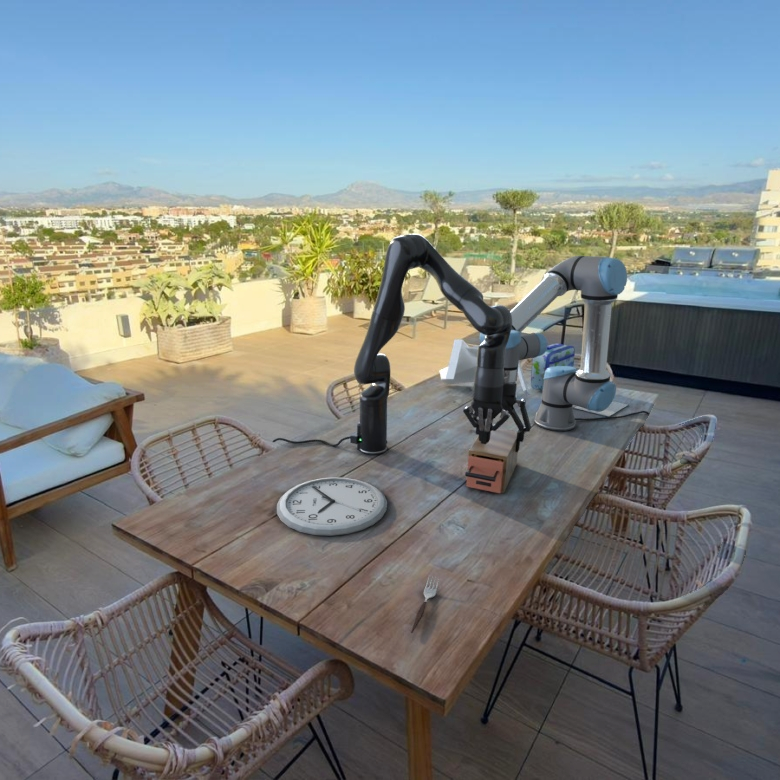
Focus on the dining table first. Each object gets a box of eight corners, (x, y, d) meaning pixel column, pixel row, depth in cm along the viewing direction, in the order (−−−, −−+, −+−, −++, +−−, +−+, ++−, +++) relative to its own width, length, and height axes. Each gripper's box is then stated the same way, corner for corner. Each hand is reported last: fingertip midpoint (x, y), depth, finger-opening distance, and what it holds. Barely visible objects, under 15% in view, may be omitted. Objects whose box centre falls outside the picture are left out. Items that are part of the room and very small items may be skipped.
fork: (404, 633, 98) (405, 624, 97) (428, 582, 112) (428, 574, 112) (418, 637, 97) (418, 628, 97) (440, 584, 111) (440, 576, 111)
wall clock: (392, 527, 129) (268, 531, 127) (391, 533, 130) (269, 537, 127) (383, 473, 158) (282, 475, 155) (383, 478, 158) (282, 480, 156)
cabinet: (503, 492, 151) (507, 456, 148) (466, 485, 155) (468, 450, 152) (516, 464, 170) (519, 431, 166) (483, 458, 174) (485, 426, 170)
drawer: (495, 502, 144) (498, 472, 141) (460, 495, 147) (462, 465, 144) (512, 465, 166) (515, 438, 163) (482, 460, 170) (484, 433, 167)
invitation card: (608, 416, 214) (573, 407, 224) (608, 416, 214) (573, 408, 224) (628, 404, 229) (594, 396, 238) (628, 405, 229) (594, 397, 238)
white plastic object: (461, 429, 252) (437, 405, 227) (444, 352, 274) (420, 323, 250) (535, 404, 240) (518, 377, 215) (510, 326, 262) (492, 293, 237)
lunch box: (547, 395, 239) (552, 351, 233) (526, 390, 247) (530, 347, 240) (574, 384, 257) (579, 343, 251) (554, 380, 264) (558, 339, 258)
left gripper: (460, 382, 137) (457, 443, 142) (511, 389, 132) (505, 452, 137) (468, 375, 143) (464, 434, 149) (516, 381, 139) (511, 442, 144)
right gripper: (463, 379, 160) (459, 445, 167) (542, 389, 152) (534, 458, 158) (469, 373, 167) (465, 437, 174) (545, 382, 158) (538, 449, 165)
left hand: (484, 442), depth 143 cm, fingers closed
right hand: (498, 447), depth 166 cm, fingers closed on cabinet, 11 cm apart
